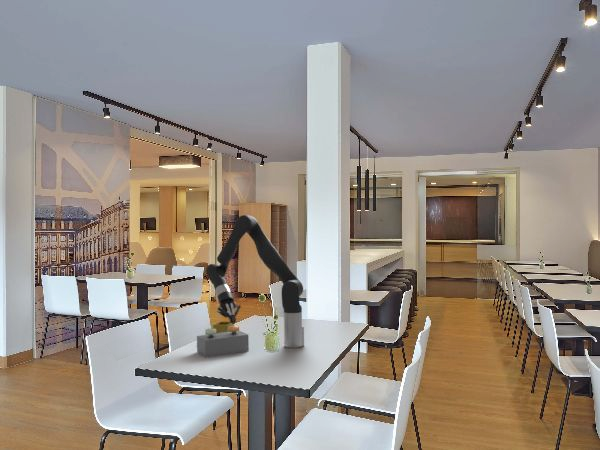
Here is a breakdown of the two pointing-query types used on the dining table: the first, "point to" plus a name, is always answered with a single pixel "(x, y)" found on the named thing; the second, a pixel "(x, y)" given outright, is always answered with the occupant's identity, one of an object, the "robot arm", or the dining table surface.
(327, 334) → the dining table surface
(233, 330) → the orange button
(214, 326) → the flower pot
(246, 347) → the block
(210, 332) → the sage button
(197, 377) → the dining table surface
